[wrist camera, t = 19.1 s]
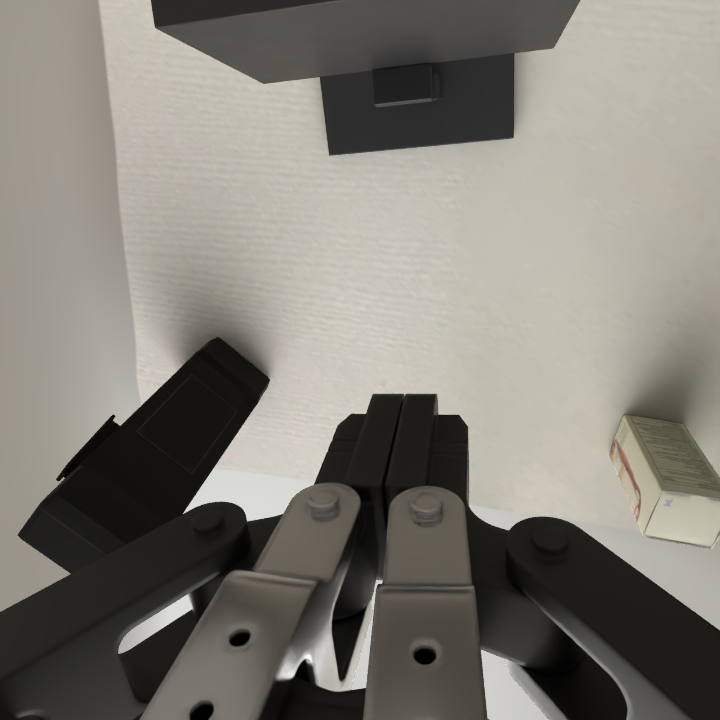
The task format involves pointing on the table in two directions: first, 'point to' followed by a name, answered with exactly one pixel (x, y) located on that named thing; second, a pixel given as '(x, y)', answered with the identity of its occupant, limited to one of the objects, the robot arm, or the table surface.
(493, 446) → the table surface
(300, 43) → the monitor screen
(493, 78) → the monitor stand
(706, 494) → the white cardboard box
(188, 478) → the portable radio
